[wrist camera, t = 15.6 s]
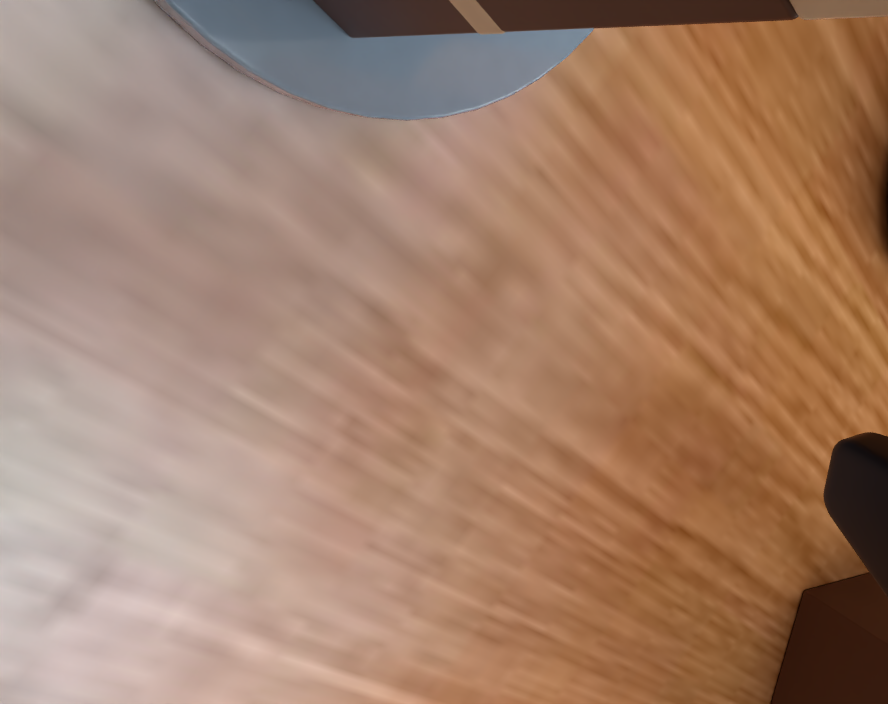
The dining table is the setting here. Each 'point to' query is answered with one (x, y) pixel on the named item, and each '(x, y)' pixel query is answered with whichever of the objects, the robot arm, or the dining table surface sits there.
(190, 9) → the plate
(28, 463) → the dining table surface
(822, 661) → the cake
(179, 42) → the dining table surface
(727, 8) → the cake slice
